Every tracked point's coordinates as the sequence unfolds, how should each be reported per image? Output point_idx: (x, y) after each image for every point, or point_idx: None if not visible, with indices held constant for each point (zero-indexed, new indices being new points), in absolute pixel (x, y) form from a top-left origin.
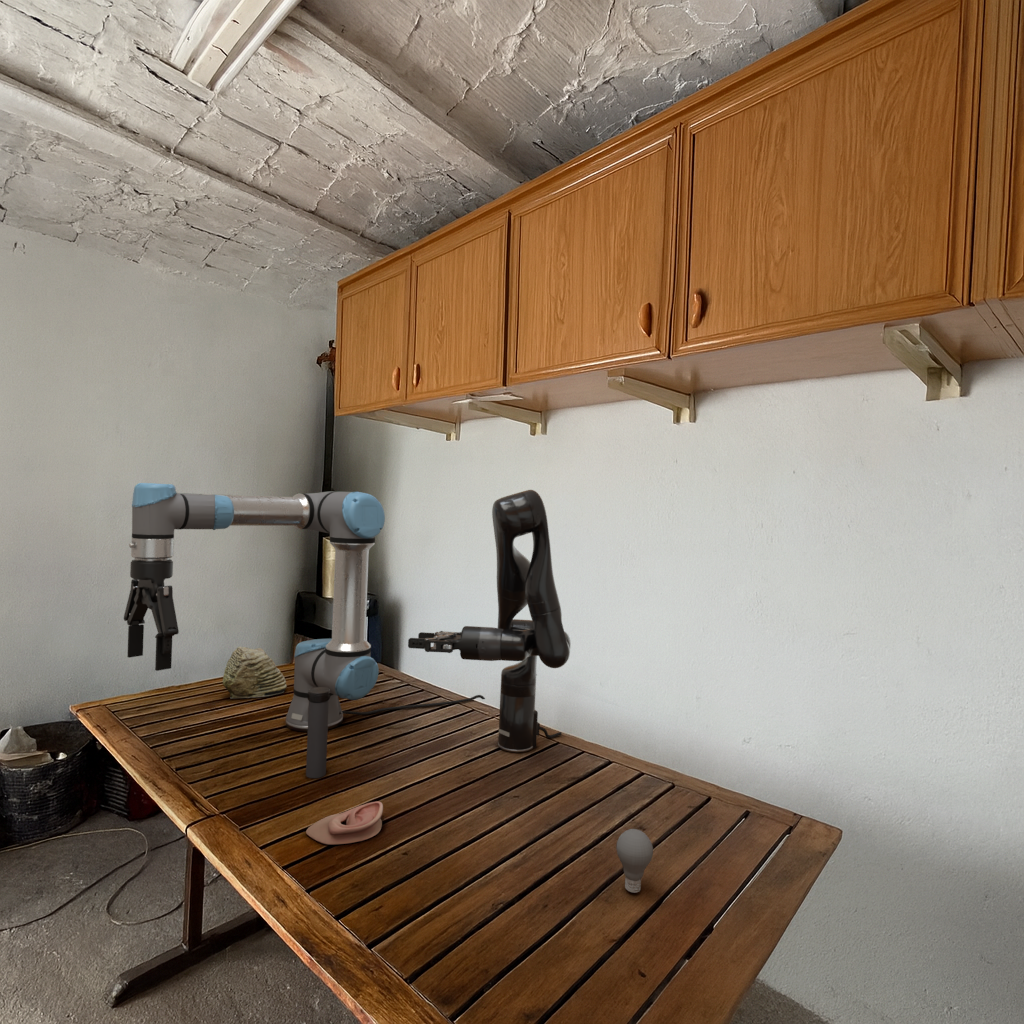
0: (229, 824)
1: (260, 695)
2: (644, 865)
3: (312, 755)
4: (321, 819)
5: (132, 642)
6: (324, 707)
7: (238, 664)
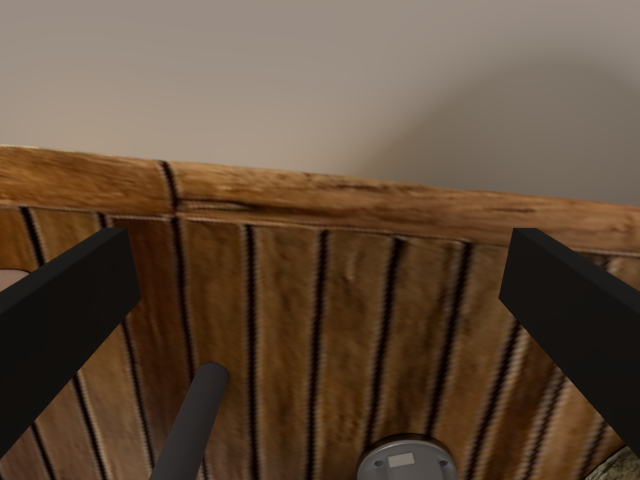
0: (127, 209)
1: (594, 475)
2: None
3: (190, 393)
4: None
5: (568, 290)
6: None
7: None
